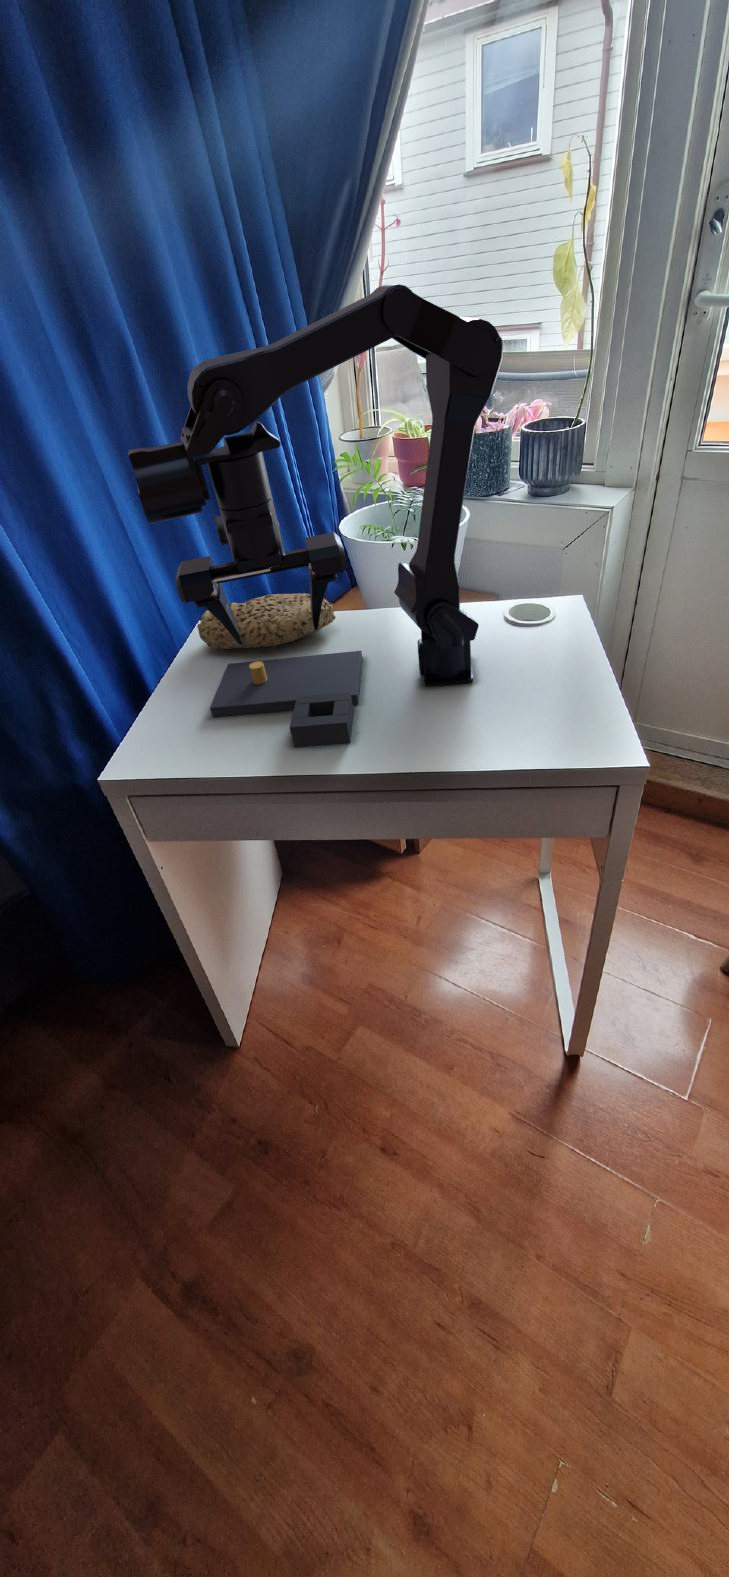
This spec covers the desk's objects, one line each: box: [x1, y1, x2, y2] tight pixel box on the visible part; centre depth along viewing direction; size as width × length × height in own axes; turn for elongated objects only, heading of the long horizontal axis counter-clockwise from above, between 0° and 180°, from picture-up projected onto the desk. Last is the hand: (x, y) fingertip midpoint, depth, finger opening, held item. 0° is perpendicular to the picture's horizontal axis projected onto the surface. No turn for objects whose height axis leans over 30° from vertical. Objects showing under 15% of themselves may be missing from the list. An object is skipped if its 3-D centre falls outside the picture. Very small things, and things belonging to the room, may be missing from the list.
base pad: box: [209, 650, 364, 718], centre depth 90 cm, size 20×12×4 cm, turn 87°
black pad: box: [289, 692, 355, 748], centre depth 82 cm, size 7×7×3 cm
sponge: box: [196, 592, 336, 650], centre depth 102 cm, size 13×8×20 cm
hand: (278, 635), depth 79 cm, fingers open, 9 cm apart
